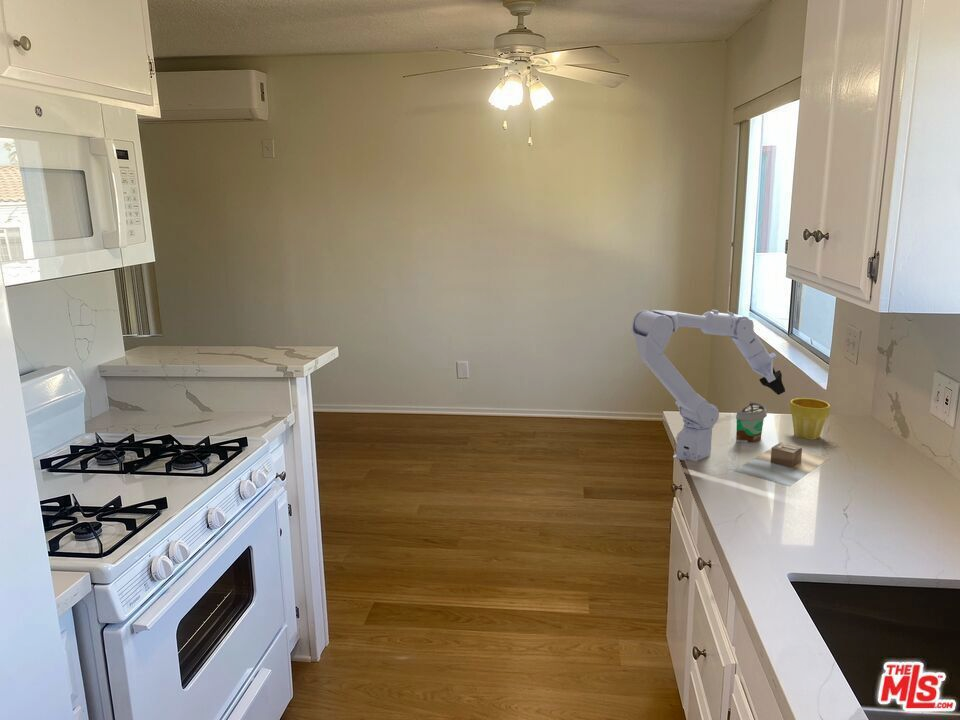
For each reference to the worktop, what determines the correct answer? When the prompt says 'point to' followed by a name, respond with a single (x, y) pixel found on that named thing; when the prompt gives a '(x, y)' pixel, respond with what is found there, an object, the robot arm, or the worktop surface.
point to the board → (780, 468)
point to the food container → (750, 423)
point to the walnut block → (786, 454)
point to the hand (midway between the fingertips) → (777, 384)
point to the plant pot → (808, 416)
